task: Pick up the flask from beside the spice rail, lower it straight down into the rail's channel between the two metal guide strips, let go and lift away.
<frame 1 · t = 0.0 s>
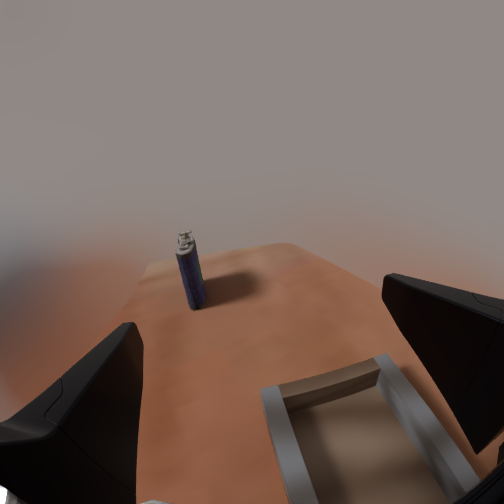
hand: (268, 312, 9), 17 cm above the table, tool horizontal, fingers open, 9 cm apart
flask 2: (197, 296, 44), on the table
spice rail: (371, 489, 13), on the table
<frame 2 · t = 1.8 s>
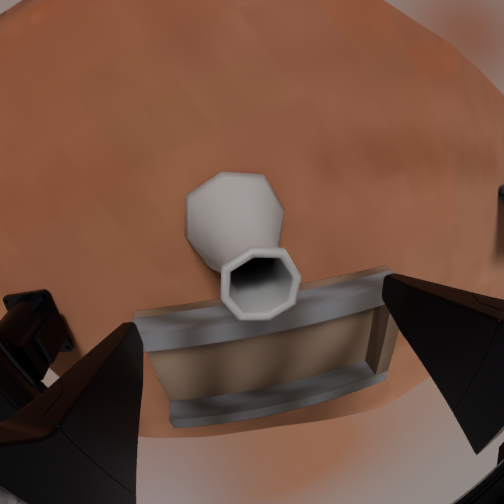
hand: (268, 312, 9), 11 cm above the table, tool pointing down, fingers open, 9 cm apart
spice rail: (274, 345, 24), on the table
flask: (233, 219, 20), on the table
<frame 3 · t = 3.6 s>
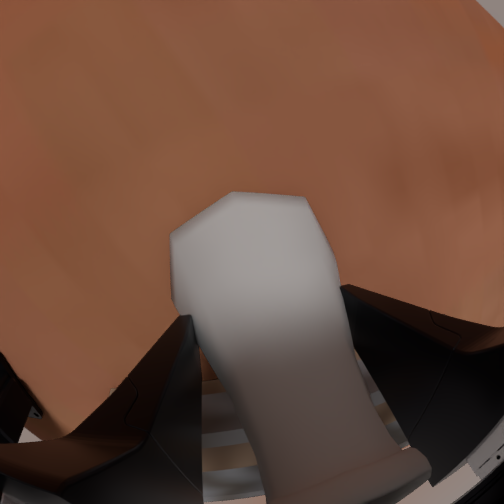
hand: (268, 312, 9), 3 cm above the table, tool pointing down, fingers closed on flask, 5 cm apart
spice rail: (299, 419, 17), on the table
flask: (251, 271, 12), on the table, touching gripper
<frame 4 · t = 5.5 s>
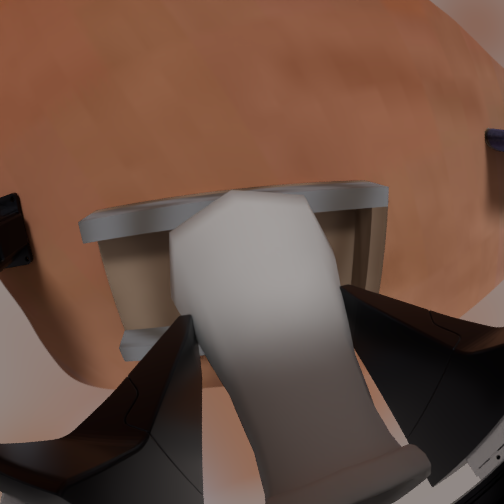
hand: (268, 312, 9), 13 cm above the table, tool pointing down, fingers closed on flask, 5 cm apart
flask 2: (498, 140, 23), on the table
spice rail: (241, 263, 23), on the table
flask: (251, 269, 12), point 10 cm above the table, touching gripper
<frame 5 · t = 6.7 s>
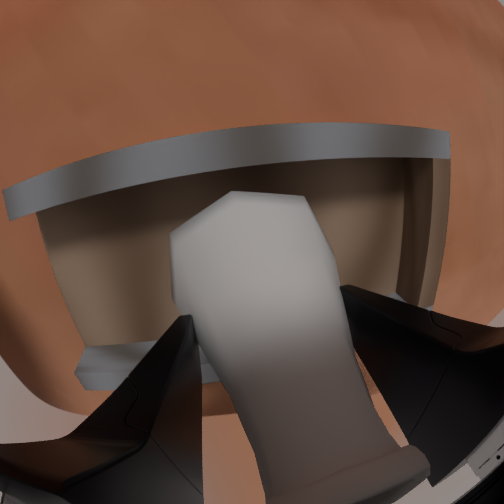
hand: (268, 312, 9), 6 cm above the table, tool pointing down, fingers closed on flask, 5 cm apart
spice rail: (245, 246, 15), on the table
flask: (251, 270, 12), point 3 cm above the table, touching gripper
when the fingers open (5 cm above the table, at t = 7.6 s): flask drops 1 cm, resting on spice rail.
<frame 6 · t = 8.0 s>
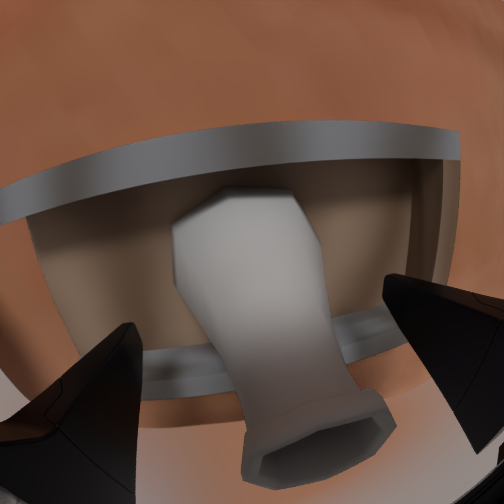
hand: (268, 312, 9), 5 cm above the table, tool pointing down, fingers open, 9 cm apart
spice rail: (245, 252, 14), on the table
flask: (245, 257, 13), point 1 cm above the table, touching spice rail
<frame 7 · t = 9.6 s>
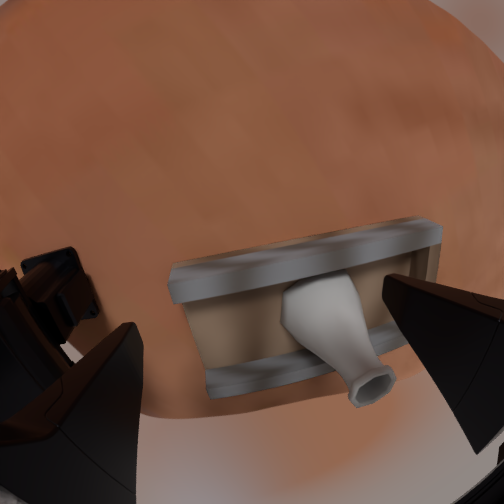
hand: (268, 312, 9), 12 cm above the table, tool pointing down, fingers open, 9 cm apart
spice rail: (316, 299, 24), on the table
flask: (318, 304, 23), point 1 cm above the table, touching spice rail
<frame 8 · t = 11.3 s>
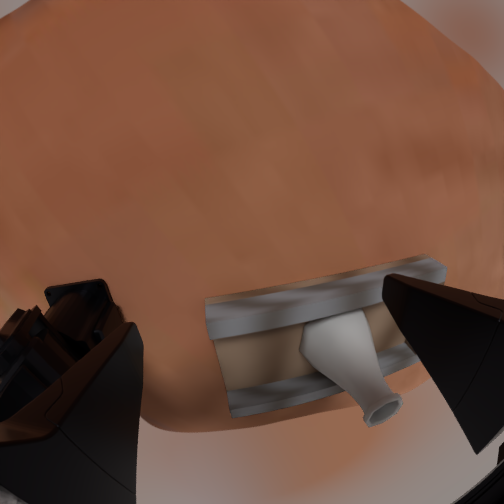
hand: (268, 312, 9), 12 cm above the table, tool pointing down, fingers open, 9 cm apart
spice rail: (331, 329, 26), on the table
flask: (333, 333, 25), point 1 cm above the table, touching spice rail
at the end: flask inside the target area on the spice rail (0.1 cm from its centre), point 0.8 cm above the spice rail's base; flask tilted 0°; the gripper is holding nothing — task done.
